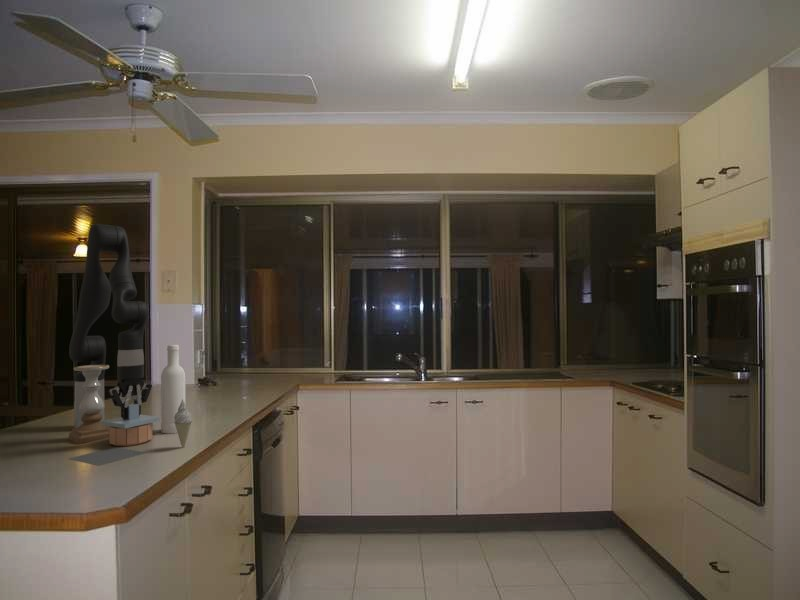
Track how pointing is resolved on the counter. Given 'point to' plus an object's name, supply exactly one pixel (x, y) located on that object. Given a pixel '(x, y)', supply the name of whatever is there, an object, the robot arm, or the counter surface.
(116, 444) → the bowl
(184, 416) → the ice cream cone
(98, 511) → the counter surface
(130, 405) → the lid
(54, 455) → the counter surface
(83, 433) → the candle holder
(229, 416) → the counter surface
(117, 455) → the mat
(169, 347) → the bottle
